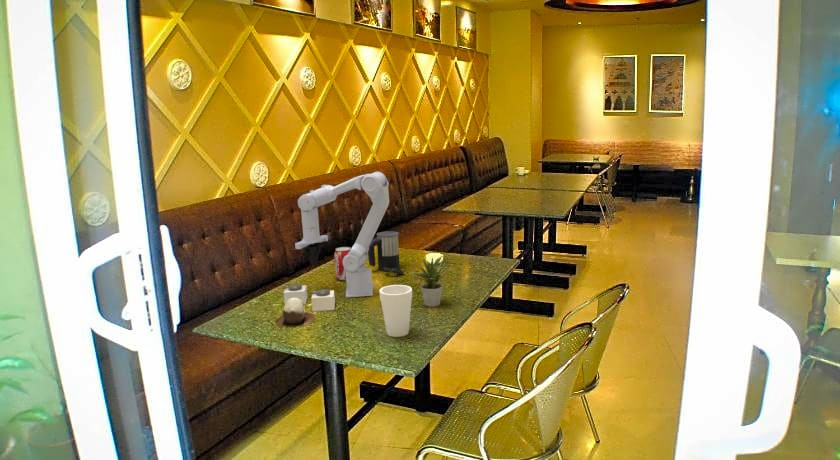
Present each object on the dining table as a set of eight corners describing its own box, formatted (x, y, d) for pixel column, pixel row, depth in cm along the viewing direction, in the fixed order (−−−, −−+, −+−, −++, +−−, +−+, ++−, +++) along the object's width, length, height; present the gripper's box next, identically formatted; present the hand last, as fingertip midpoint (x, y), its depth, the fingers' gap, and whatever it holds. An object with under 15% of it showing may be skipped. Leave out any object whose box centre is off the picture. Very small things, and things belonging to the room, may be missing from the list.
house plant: (422, 293, 199) (421, 248, 196) (459, 298, 193) (458, 251, 190) (404, 307, 187) (401, 258, 183) (442, 312, 180) (441, 262, 177)
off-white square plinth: (335, 302, 193) (334, 290, 192) (334, 309, 186) (333, 296, 185) (314, 304, 193) (313, 291, 192) (312, 311, 186) (311, 298, 185)
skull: (276, 312, 184) (295, 288, 183) (301, 331, 185) (321, 307, 184) (268, 324, 172) (289, 299, 171) (295, 345, 173) (316, 320, 172)
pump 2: (331, 301, 192) (330, 288, 191) (330, 306, 187) (329, 292, 186) (311, 302, 191) (310, 290, 190) (310, 307, 187) (309, 294, 186)
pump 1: (303, 296, 199) (302, 283, 198) (302, 300, 194) (301, 287, 193) (284, 297, 198) (283, 284, 197) (282, 301, 194) (281, 288, 193)
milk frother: (388, 264, 239) (386, 230, 236) (417, 269, 230) (416, 233, 227) (365, 272, 228) (363, 236, 225) (395, 278, 219) (393, 241, 216)
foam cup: (381, 327, 169) (379, 285, 167) (412, 325, 170) (410, 283, 168) (382, 340, 160) (379, 296, 158) (414, 337, 161) (413, 293, 158)
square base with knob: (307, 297, 200) (306, 285, 199) (305, 304, 193) (304, 291, 192) (287, 298, 199) (286, 286, 199) (284, 305, 193) (283, 292, 192)
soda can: (350, 281, 217) (348, 251, 215) (333, 281, 219) (331, 250, 216) (356, 276, 224) (354, 246, 221) (339, 275, 225) (337, 246, 223)
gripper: (316, 222, 209) (319, 258, 212) (287, 230, 197) (290, 268, 200) (331, 224, 205) (333, 260, 208) (302, 231, 193) (305, 270, 196)
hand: (313, 264), depth 204 cm, fingers closed
